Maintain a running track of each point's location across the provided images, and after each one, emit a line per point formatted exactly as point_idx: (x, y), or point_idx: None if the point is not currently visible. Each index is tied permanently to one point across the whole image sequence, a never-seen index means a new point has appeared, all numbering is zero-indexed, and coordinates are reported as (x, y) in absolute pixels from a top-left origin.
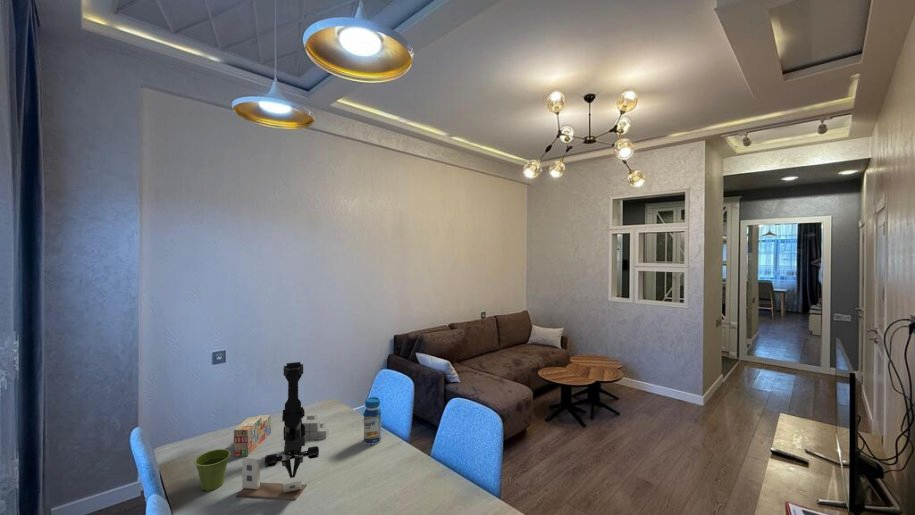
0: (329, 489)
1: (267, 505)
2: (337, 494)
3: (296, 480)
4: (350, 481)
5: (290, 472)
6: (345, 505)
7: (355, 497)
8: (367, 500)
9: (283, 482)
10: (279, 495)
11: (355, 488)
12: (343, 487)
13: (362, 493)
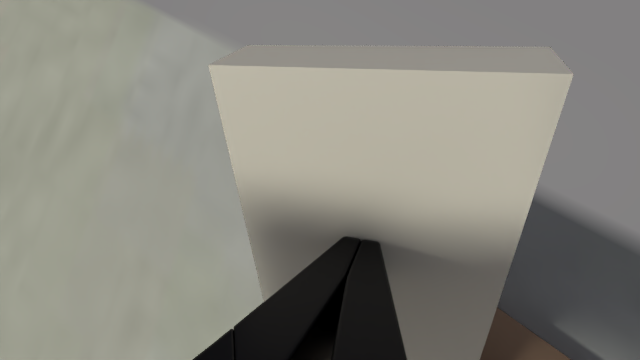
0: (129, 213)
1: (631, 273)
2: (112, 131)
3: (306, 53)
4: (7, 229)
5: (366, 340)
6: (118, 11)
7: (56, 57)
8: (29, 10)
9: (544, 58)
10: (506, 353)
11: (20, 139)
12: (60, 186)
13: (18, 76)
